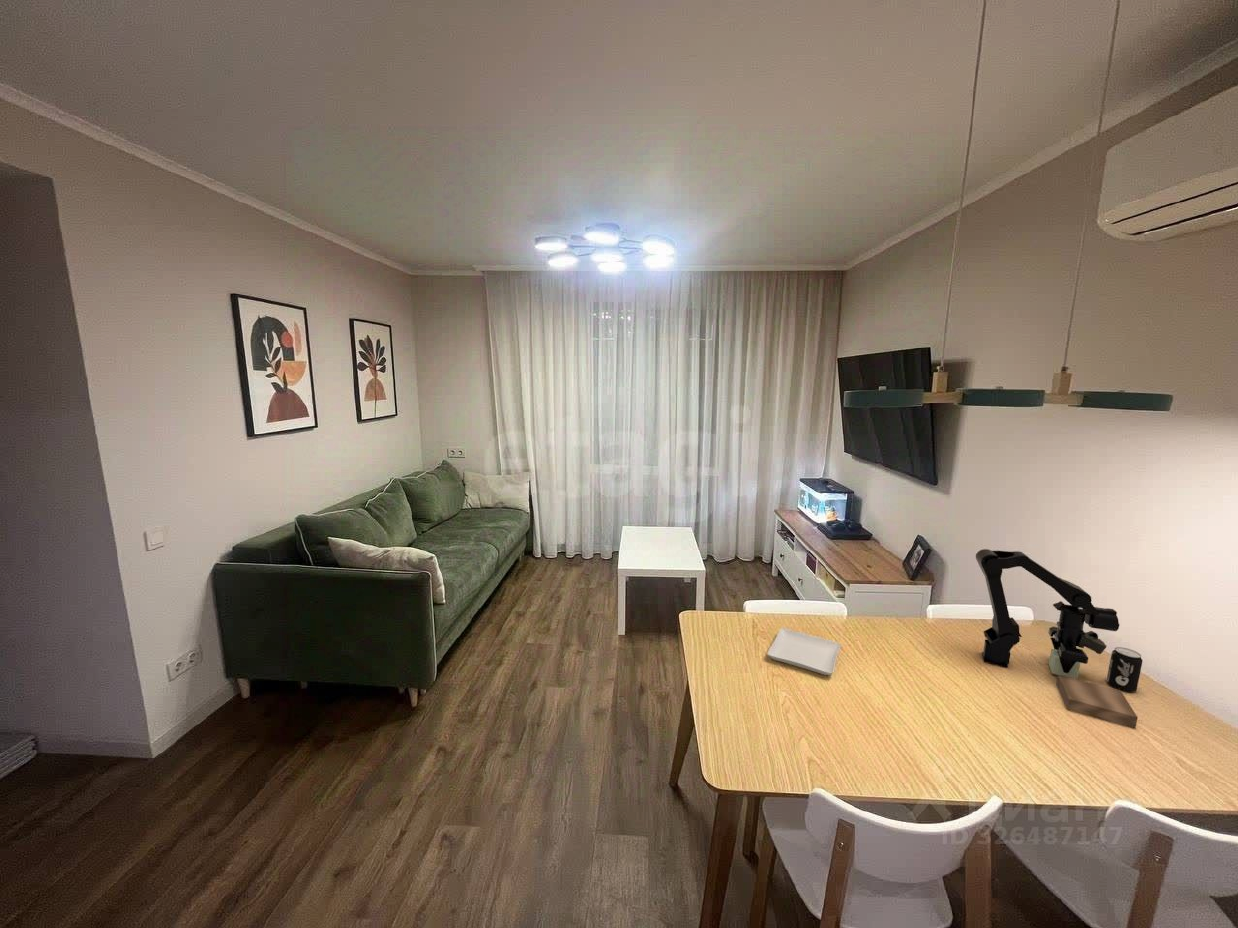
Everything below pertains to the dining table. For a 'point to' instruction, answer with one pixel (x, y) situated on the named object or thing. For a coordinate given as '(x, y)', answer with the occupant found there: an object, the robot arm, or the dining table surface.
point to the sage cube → (1057, 668)
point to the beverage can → (1124, 669)
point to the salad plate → (805, 651)
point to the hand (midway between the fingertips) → (1063, 667)
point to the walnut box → (1096, 701)
